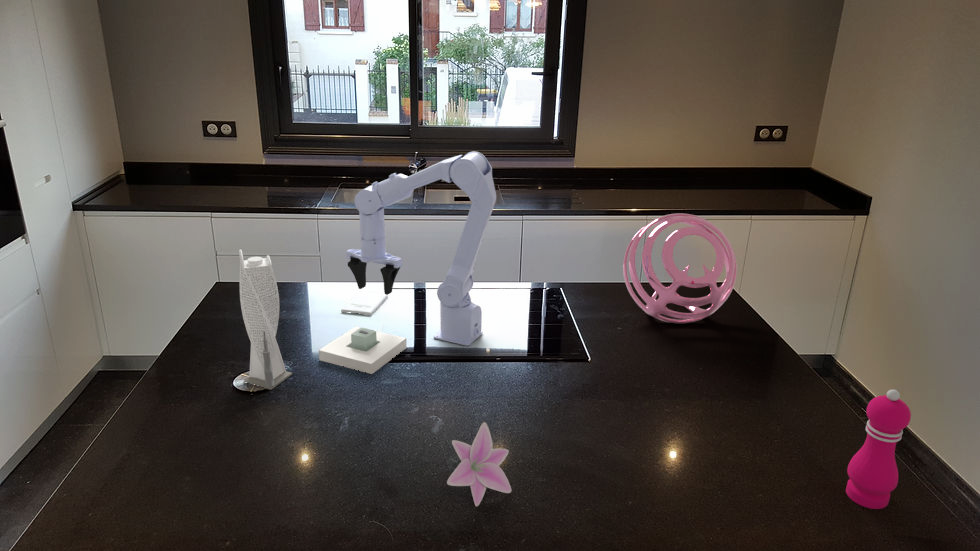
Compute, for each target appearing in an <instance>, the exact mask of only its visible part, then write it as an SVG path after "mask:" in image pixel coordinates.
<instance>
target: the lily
mask: <svg viewBox="0 0 980 551" xmlns="http://www.w3.org/2000/svg"><path fill="white" fill-rule="evenodd" d="M451 444H452V446H453V448H454V450H455V453H456V454H457V456H458V458H459V460H460V461H461V462H459V464H458V465H457V467H456V468H455V469H454V470H453V471H452V473H451V474H450V476H449V477H448V479H447V480H446V484H447V485H448V486H451V487H453V486H454V487H470V491H471V495H472V498H473V502H474V505H475V507H478V506H479V505H480V504H481V502H482V501H483V498H484V496H485V493H486V491H487V489H491V490H494V491H498V492H499V493H500V492H501V493H504V494H510V493H512V486H511V485H510V481H509V479H508V477H507V476H506V474H505V472H504V470H503V469H502V468H501V467H500V466H501V464H503V462H504V460H506V458H507V456H508V454H509V449H507V448H493V447H494V446H493V445H494V444H493V439H492V434H491V431H490V428H489V425H488V424H487V422H485V421H483V422H482V423H481V425H480V427H479V429H478V431H477V433H476V436H475V437H474V439H473V441H472V444H468V443H466V442H464V441H460V440H455V439H452V440H451Z"/></svg>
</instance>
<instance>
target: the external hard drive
mask: <svg viewBox="0 0 980 551" xmlns="http://www.w3.org/2000/svg"><path fill="white" fill-rule="evenodd" d="M388 295H389V294H388ZM388 295H386V294H385V293H379V292H368V291H359V292H357V294H356V295H355V296H354V297H353V298H352V299H350V301H349V302H347V303H346V305H345V306H343V308H341V310H340V312H351V313H360V314H366V315H365V316H368V315H371V316H373V315H374V313H375V312H376V311H377V310H378V309H379V308H380V307H381V305H383V304H384V302H385V301H386V300H387V299H388V298H389V296H388ZM379 306H380V307H379ZM378 307H379V308H378ZM377 308H378V309H377ZM376 309H377V310H376ZM375 310H376V311H375ZM374 311H375V312H374ZM373 312H374V313H373Z"/></svg>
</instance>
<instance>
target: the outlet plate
mask: <svg viewBox="0 0 980 551" xmlns="http://www.w3.org/2000/svg"><path fill="white" fill-rule="evenodd" d="M360 328H363V327H361V326H357V325H356V326H354V327H353V328H351V329H349V330H348V331H346V332H345V333H343V334H341V335H340V336H338V337H337V338H335V339H334V340H332V341H331V342H329V343H327V344H326V345H325V346H324V345H323V347H321V348H320V349H318V360H319V361H321V362H325V363H329V364H333V365H336V366H339V367H343V366H344V367H343V368H347V369H351V370H354V369H355V370H354V371H358V370H359V371H360V372H362V373H365V372H366V373H365V374H370V375H373V374H374V373H375V372H377V371H378V370H380V369H381V368H382V367H384V366H385V365H386V364H387V363H389V362H390V361H392V358H393V359H394V358H395V357H397V356H398V355H399V354H401V353H402V352H403V351H404V350H406V349H408V348H407V337H403V336H399V335H394V334H390V333H386V332H381V331H378V330H375V331H376V337H377V345H375V346H374V347H372V348H371V349H370V350H368V351H367V352H366V351H362V350H358V349H354V348H352V342H351V334H352V333H354V332H355V331H357V330H358V329H360ZM400 352H401V353H400ZM396 355H397V356H396ZM359 371H358V372H359Z"/></svg>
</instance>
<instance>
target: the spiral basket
mask: <svg viewBox="0 0 980 551" xmlns="http://www.w3.org/2000/svg"><path fill="white" fill-rule="evenodd" d="M678 223H679V224H685V225H687V226H686V227H685V226H684V227H681V228H679V229H677V230H675V231H673V232H672V233H671V234H670V235H668V236H667V238H666V239H665V241H664V243H663V246H662V251H661V260H662V265H663V267H664V270H665V272H666V273H667V275H668V276H669V277H670V278H671V279H672V283H671V284H670V286H665V285H663V284H662V282H661V281H660V279H659V277H658V276H657V275H656V273H655V271H654V268H653V264H652V250H653V247H654V243H655V241H656V240H657V238H658V236H659V235H660V234H661V233H662V232H663V231H664V230H665V229H667V228H668V227H670V226H672V225H675V224H678ZM655 226H656V227H655ZM652 227H654V229H652V231H651V232H650V233H649V234H648V235H647V237H646V239H645V242H644V244H643V248H642V253H641V260H642V261H641V262H642V269H643V272H644V276H645V278H646V280H647V281H648V283H649V285H650V286H651V287H652V289H653V290H654V293H653V294H652V296H650V295H649V294H648V293H647V291H646V290H645V289H644V288H643V286H642V284H641V281H640V279H639V278H638V277H639V276H638V274H637V267H636V254H637V250H638V246H639V243H640V241H641V239H642V237H643V236H644V234H645V233H647V231H648V230H649V229H650V228H652ZM687 236H697V237H701V238H704V239H705V240H707V242H709V243H710V245H711V246H712V247H713V249H714V251H715V257H716V261H715V265H714V266H713V268H712V270H710V269H708V268H707V267H706V265H705V264H702V269H703V272H704V275H703V276H699V277H695V276H694V277H693V276H690V275H688V271H689V269H690V267H691V265H690V264H688V265H687V266H686V267H685V268H684V269H683V270H680V269H679V268H678V267H677V265H676V263H675V260H674V257H673V256H674V255H673V254H674V249H675V246H676V244H677V243H678V241H680V240H681V239H682V238H684V237H687ZM622 264H623V265H622V272H623V273H622V274H623V280H624V284H625V285H626V288H627V291H628V293H629V295H630V297H631V298H632V299H633V300H634V302H635V303H636V305H637V306H638V307H639V308H640V309H642V311H644V312H645V314H647V315H648V316H650V317H653V318H655V319H657V320H660V321H662V322H666V323H669V324H670V323H673V324H690V323H694V322H697V321H700V320H703V319H706V318H707V317H709V316H711V315H712V314H713V315H714V313H715V312H716V311H717V310H718V309H719V308H721V306H723V304H724V303H725V302H726V301H727V300H728V298H730V295H731V293H732V291H733V289H734V288H735V284H736V280H737V275H738V274H737V273H738V265H737V257H736V254H735V251H734V249H733V247H732V244H731V242H730V241H729V239H728V237H727V236H726V235H725V234H724V232H723V231H721V229H720V228H718V227H717V226H716V225H715V224H714V223H712V222H711V221H708V220H707V219H705V218H703V217H701V216H699V215H695V214H689V213H682V212H681V213H679V212H678V213H671V214H669V213H668V214H665V215H662V216H660V217H657V218H655V219H653V220H651V221H650V222H649V223H647V224H646V225H645V226H643V227H641V228H640V229H639V230H638V231H637V232H636V233H635V235H633V236H632V238H631V239H630V242H628V245H627V247H626V250H625V253H624V257H623V262H622ZM724 266H725V279H724V281H723V283H722V284H721V285H720V286H719V287H718V285H717V280H718V278H719V277H720V276H721V274H722V272H723V270H724ZM628 270H629V272H628ZM628 273H629V275H630V279H629V275H628ZM630 280H631V282H632V285H633V287H634V289H635V290H636V292H637V294H638V295H639V296H640V297H641V299H642V300H643V301H644V303H646V304H644V303H643V302H642V301H641V300H640V299H639V298H638V296H637V295H636V293H635V292H634V290H633V287H632V285H631V283H630ZM681 286H684V287H687V288H692V289H700V288H705V287H709V288H710V293H709V294H708V295H705V296H701V297H684V296H681V295H679V294H678V293H677V290H678V289H679V288H680V287H681ZM657 296H658V298H657ZM656 298H657V299H656ZM668 304H675V305H678V306H681V307H684V308H686V309H687V310H688V311H689V312H681V311H680V312H679V311H674V310H672V309H670V308H668V307H667V305H668ZM709 304H711V306H709V307H708V308H706V309H704V308H700V307H701V306H705V305H706V306H707V305H709ZM663 315H664V316H663ZM666 316H667V317H666ZM669 317H671V318H669Z"/></svg>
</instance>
